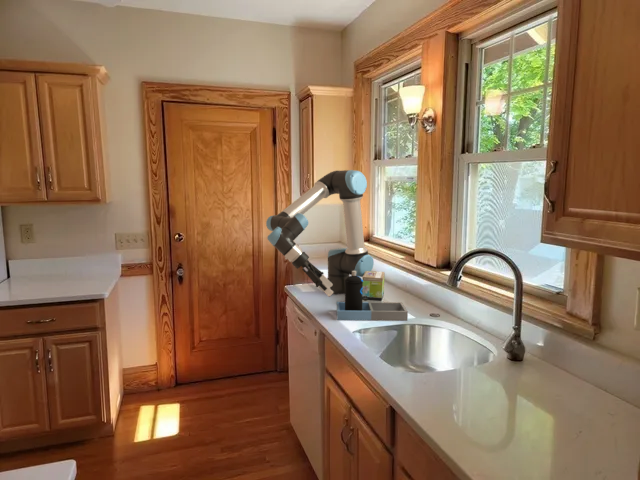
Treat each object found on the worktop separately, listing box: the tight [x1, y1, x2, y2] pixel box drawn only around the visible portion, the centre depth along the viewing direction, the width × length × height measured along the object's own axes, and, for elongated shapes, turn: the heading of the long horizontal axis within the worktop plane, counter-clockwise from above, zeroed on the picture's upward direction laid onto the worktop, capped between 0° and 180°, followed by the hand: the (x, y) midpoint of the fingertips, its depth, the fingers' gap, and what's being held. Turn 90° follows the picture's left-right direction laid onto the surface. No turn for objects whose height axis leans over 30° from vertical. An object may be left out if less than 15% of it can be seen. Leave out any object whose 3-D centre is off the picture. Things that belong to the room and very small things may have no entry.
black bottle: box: [344, 271, 363, 311], centre depth 192 cm, size 8×8×20 cm
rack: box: [336, 301, 409, 322], centre depth 193 cm, size 14×30×4 cm, turn 89°
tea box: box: [362, 270, 385, 302], centre depth 211 cm, size 15×10×15 cm
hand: (331, 290), depth 192 cm, fingers open, 13 cm apart
